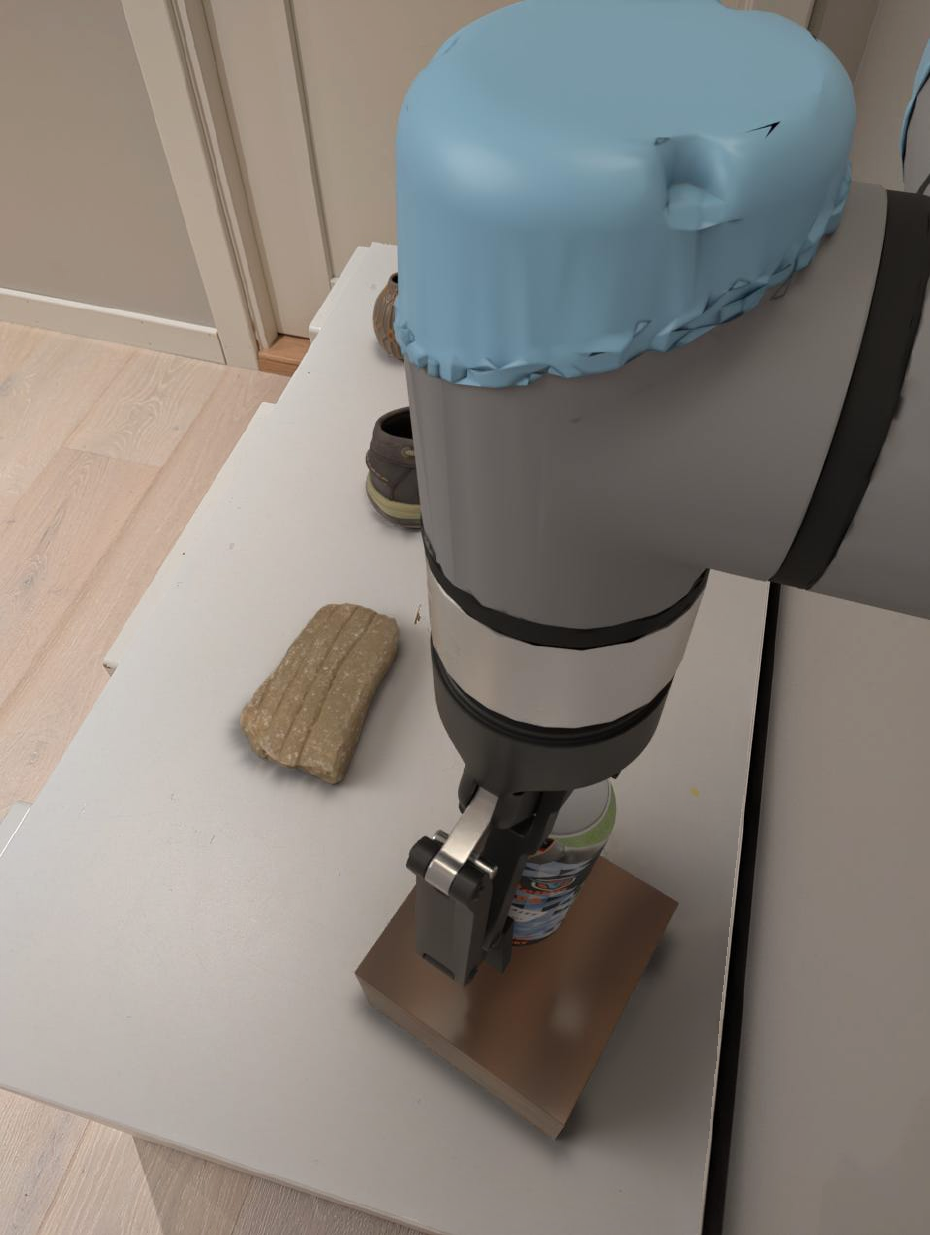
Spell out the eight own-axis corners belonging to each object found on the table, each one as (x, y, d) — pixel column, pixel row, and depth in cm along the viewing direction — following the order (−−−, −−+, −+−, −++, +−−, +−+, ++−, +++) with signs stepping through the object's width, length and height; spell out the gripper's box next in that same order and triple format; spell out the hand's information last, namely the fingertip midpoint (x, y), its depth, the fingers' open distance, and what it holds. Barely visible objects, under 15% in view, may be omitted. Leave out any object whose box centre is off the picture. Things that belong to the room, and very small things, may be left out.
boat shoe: (678, 480, 84) (700, 392, 75) (390, 561, 79) (378, 477, 70) (628, 410, 90) (643, 321, 81) (358, 481, 85) (343, 394, 76)
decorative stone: (412, 632, 74) (409, 608, 71) (341, 794, 65) (334, 774, 62) (307, 605, 76) (300, 580, 73) (224, 758, 67) (213, 737, 64)
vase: (386, 326, 99) (378, 255, 92) (444, 334, 98) (441, 263, 91) (368, 363, 95) (358, 292, 88) (428, 372, 94) (423, 301, 87)
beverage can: (430, 887, 45) (416, 789, 35) (533, 800, 48) (546, 687, 38) (512, 984, 42) (521, 906, 32) (617, 885, 45) (654, 786, 35)
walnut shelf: (658, 939, 59) (679, 902, 52) (554, 1140, 52) (564, 1125, 45) (484, 832, 63) (484, 785, 57) (369, 1003, 57) (353, 972, 50)
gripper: (603, 394, 32) (559, 706, 50) (231, 829, 22) (346, 1017, 41) (799, 472, 29) (677, 770, 48) (474, 1001, 20) (479, 1118, 38)
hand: (525, 883), depth 44 cm, fingers closed on beverage can, 7 cm apart
